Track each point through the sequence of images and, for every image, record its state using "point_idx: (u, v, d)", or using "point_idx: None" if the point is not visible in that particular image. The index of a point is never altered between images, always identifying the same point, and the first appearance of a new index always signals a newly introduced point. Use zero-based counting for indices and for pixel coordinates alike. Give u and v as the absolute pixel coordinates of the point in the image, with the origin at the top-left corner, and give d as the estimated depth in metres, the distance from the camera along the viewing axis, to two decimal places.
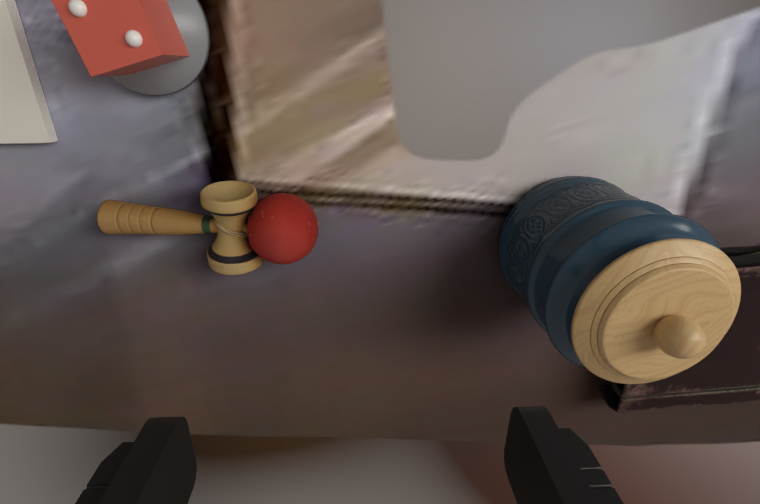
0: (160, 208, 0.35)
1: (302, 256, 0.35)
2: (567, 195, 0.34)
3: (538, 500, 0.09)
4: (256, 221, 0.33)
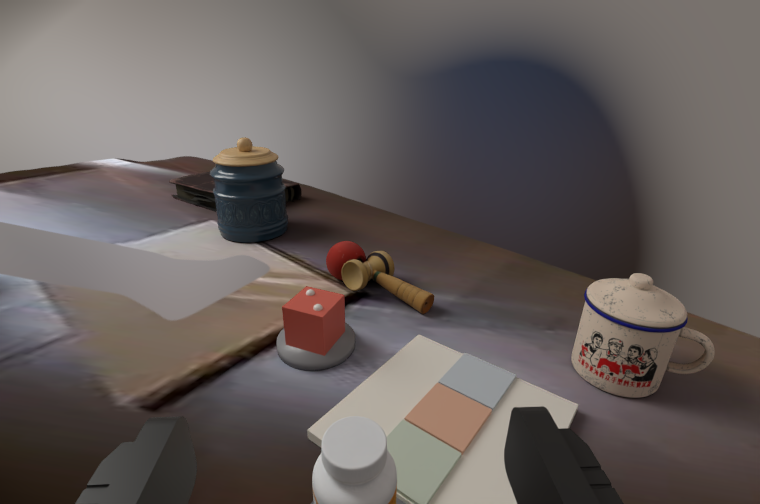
0: (394, 291, 0.57)
1: None
2: (234, 218, 0.74)
3: (538, 500, 0.09)
4: (348, 254, 0.61)
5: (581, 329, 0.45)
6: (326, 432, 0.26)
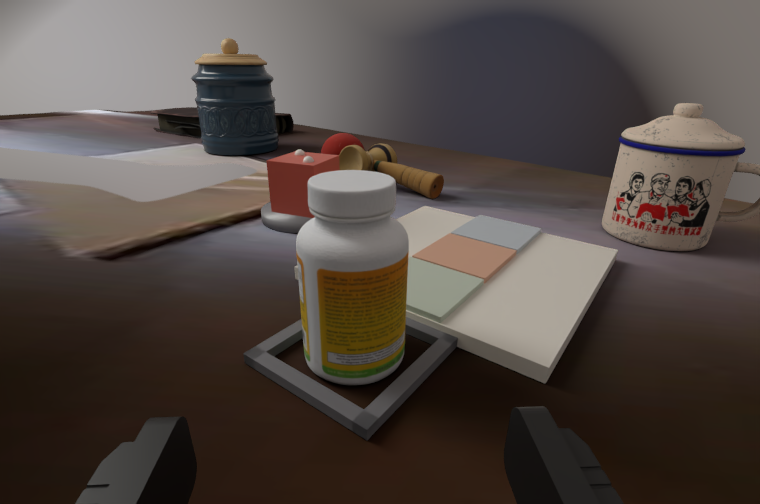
0: (399, 176, 0.51)
1: None
2: (218, 126, 0.68)
3: (538, 500, 0.09)
4: (345, 143, 0.54)
5: (615, 180, 0.38)
6: None
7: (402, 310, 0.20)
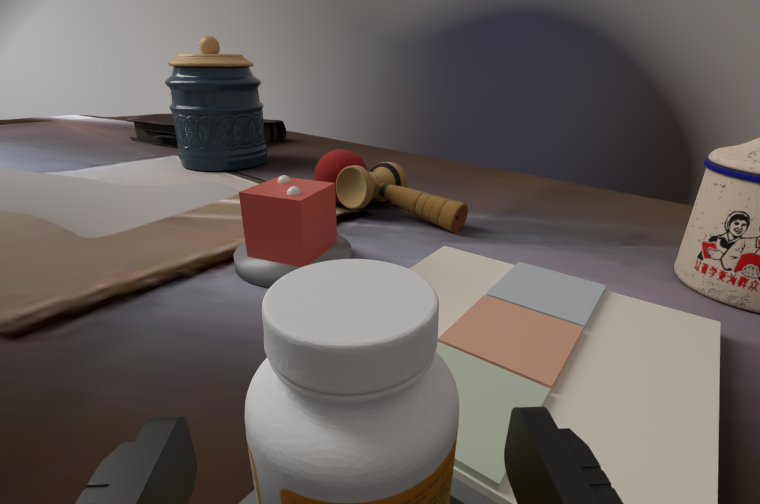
0: (411, 205, 0.41)
1: None
2: (196, 137, 0.58)
3: (538, 500, 0.09)
4: (344, 163, 0.44)
5: (700, 218, 0.29)
6: (279, 281, 0.10)
7: None
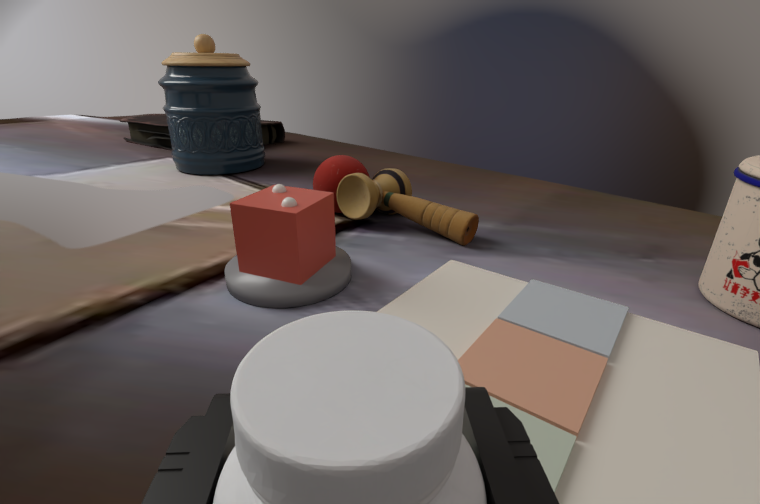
0: (418, 215, 0.38)
1: None
2: (190, 140, 0.56)
3: None
4: (345, 170, 0.42)
5: (730, 234, 0.27)
6: (256, 347, 0.08)
7: None
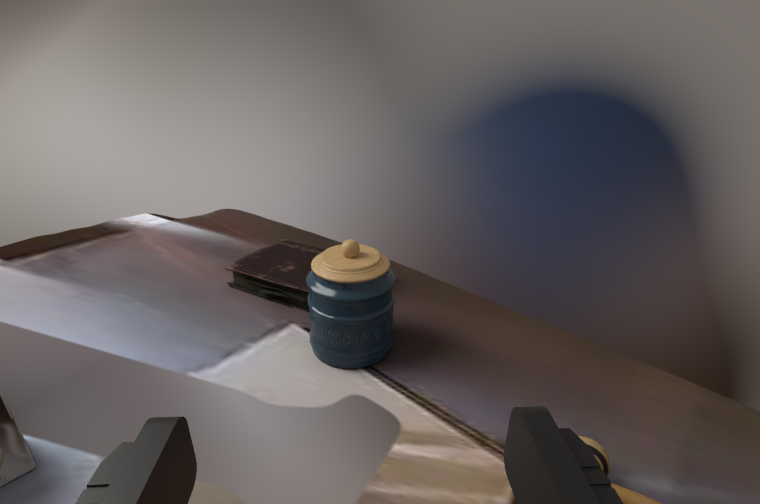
0: None
1: None
2: (339, 342, 0.59)
3: (538, 500, 0.09)
4: None
5: None
6: None
7: None
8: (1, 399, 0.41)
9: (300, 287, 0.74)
